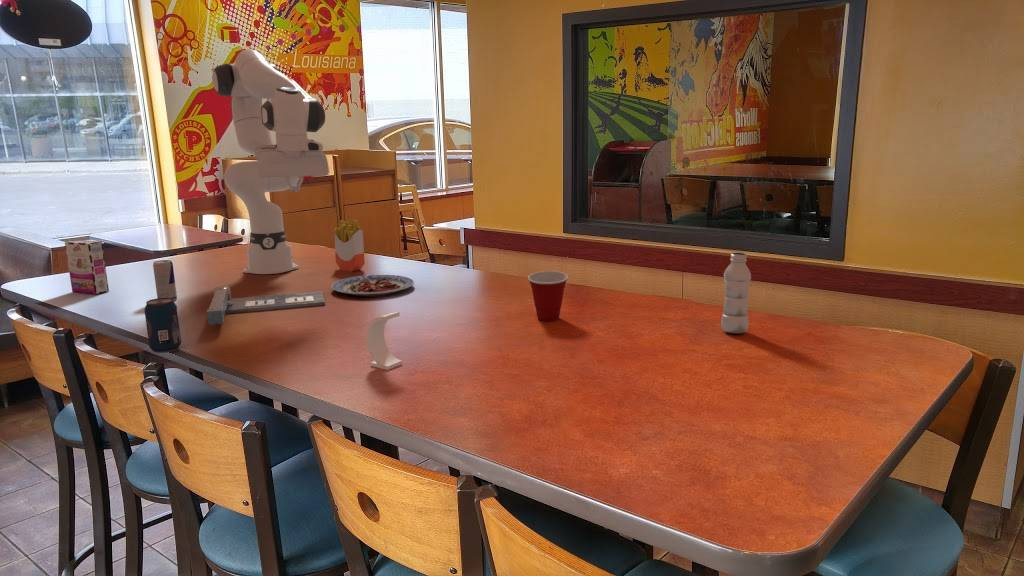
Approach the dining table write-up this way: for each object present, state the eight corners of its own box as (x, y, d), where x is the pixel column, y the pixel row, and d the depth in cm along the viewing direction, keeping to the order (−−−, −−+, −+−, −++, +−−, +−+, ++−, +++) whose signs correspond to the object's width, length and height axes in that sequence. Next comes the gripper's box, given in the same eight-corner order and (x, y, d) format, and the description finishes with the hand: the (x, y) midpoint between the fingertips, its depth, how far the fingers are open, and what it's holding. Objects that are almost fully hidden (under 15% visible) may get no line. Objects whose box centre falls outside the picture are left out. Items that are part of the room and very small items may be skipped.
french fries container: (355, 272, 254) (351, 222, 249) (335, 269, 260) (331, 219, 256) (365, 270, 257) (362, 220, 253) (345, 267, 264) (342, 218, 260)
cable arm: (231, 297, 211) (230, 285, 210) (225, 323, 184) (223, 310, 183) (215, 298, 210) (214, 286, 209) (206, 325, 183) (204, 311, 182)
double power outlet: (216, 303, 215) (215, 295, 214) (322, 294, 224) (321, 287, 223) (213, 315, 202) (212, 307, 201) (325, 305, 211) (324, 297, 210)
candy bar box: (110, 291, 231) (102, 241, 227) (96, 295, 226) (88, 243, 222) (85, 288, 235) (77, 239, 231) (71, 292, 230) (63, 241, 227)
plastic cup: (522, 322, 191) (521, 278, 188) (535, 311, 201) (534, 269, 198) (561, 325, 187) (561, 280, 185) (572, 315, 197) (573, 272, 194)
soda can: (150, 347, 174) (144, 299, 171) (182, 343, 177) (176, 295, 174) (149, 355, 168) (142, 305, 165) (181, 351, 170) (175, 302, 168)
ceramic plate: (406, 278, 245) (406, 269, 245) (421, 295, 221) (421, 286, 221) (328, 284, 237) (328, 275, 237) (335, 303, 214) (335, 293, 213)
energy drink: (180, 298, 221) (175, 259, 218) (170, 302, 216) (166, 263, 213) (164, 298, 221) (159, 259, 219) (154, 302, 216) (148, 263, 213)
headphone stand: (387, 370, 156) (384, 317, 153) (367, 365, 160) (364, 312, 157) (402, 364, 160) (399, 312, 157) (382, 359, 163) (379, 308, 160)
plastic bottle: (734, 338, 175) (739, 257, 171) (714, 331, 181) (719, 252, 177) (753, 334, 178) (759, 254, 174) (733, 327, 184) (738, 250, 180)
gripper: (254, 145, 206) (258, 194, 209) (328, 144, 212) (330, 192, 215) (254, 144, 211) (258, 191, 215) (326, 143, 217) (329, 189, 221)
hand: (295, 191), depth 215 cm, fingers closed
